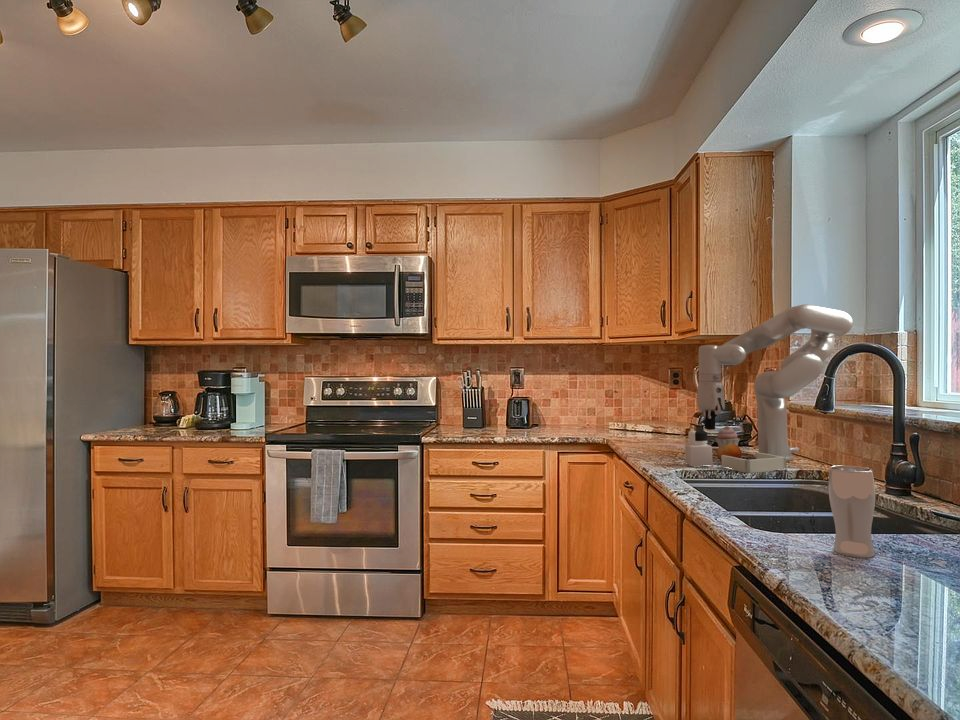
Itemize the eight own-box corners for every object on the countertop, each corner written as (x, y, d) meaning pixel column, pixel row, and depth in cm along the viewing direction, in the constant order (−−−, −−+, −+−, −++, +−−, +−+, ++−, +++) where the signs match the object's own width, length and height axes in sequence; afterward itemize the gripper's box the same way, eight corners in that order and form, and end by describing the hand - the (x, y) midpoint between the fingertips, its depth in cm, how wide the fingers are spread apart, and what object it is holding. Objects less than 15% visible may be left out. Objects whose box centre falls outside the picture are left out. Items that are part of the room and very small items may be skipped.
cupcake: (712, 451, 224) (711, 426, 224) (719, 448, 231) (718, 424, 232) (736, 452, 218) (735, 427, 218) (743, 449, 225) (742, 425, 226)
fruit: (749, 461, 189) (735, 441, 191) (728, 473, 191) (714, 452, 193) (746, 457, 197) (732, 438, 198) (725, 468, 199) (712, 449, 200)
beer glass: (857, 561, 96) (853, 473, 96) (821, 549, 102) (818, 466, 103) (887, 556, 98) (884, 470, 98) (851, 544, 104) (847, 464, 105)
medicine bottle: (706, 463, 195) (705, 429, 196) (712, 467, 188) (711, 431, 189) (685, 463, 196) (684, 429, 196) (690, 467, 189) (689, 431, 189)
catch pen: (759, 464, 192) (758, 452, 192) (786, 469, 180) (786, 457, 180) (721, 467, 188) (721, 455, 188) (747, 473, 176) (747, 460, 176)
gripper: (732, 379, 198) (733, 431, 197) (705, 378, 212) (705, 427, 212) (714, 379, 196) (714, 431, 195) (688, 378, 210) (688, 427, 210)
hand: (710, 429), depth 203 cm, fingers closed
